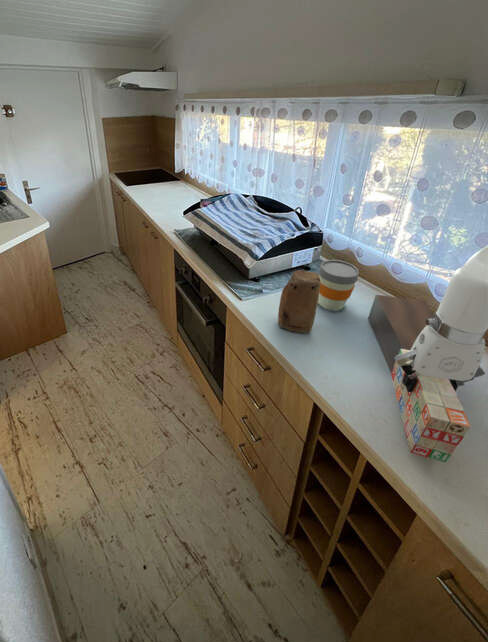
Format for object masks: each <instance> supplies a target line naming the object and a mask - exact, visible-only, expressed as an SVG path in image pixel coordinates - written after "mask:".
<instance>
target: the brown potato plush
mask: <svg viewBox="0 0 488 642" xmlns="http://www.w3.org/2000/svg"><path fill="white" fill-rule="evenodd" d="M319 291H320V276H319V273H318V272H315V271H308V270H301V269H300V270H294V271H293V272H292V274H291V276H290V279H289V280H288V282H287V283H286V285H284V287H283V289H282V291H281V294H280V299H279V305H278V313H277V320H278V321H277V323H278V326H279V327H280V328H283V329H285V330H288V331H291V332H296V333H303V334H304V333H309V332H311V331H312V328H313V326H314V323H315V320H316V319H315V318H316V313H317V308H318V305H319V303H318V299H319Z"/></svg>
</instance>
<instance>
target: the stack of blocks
mask: <svg viewBox="0 0 488 642" xmlns="http://www.w3.org/2000/svg"><path fill="white" fill-rule="evenodd" d="M408 351H410V350H405V349H400V351H399V353H398V355H400V354H403V353H406V352H408ZM411 361H412V360H410V361H408V362H406V363H407V364H408V363H410V362H411ZM414 370H415V369H414V368H413V371H414ZM404 374H405V372H404V371H403V370H402V368H401V367H400V366H399V365H398V363H397V362H395V364H394V367H393V370H392V372H390V376H391V379H392V384H393V388H394V392H395V396H396V401H397V403H398V406H399V411H400V414H401V418H402V422H403V428H404V432H405V437H406V440H407V444H408V445H407V446H408V449H409V452H410V453H411V454H412V455H416V456H420V457H424V458H429V459H431V460H435V461H438V462H441V463H447V462H448V461H449V460H450V457H451V456H452V454H453V452H454V451H455V450H456V448H457V447H458V446H459V445H460V443H461V442H462V441H463V439H464V438H465V436H466V434H467V433H468V432H469V430H470V429H471V424H470V421H469V419H468V417H467V415H466V412H465V409H464V407H463V405H462V403H461V401H460V399H459V396H458V394H457V393H456V391H455V390H454V388H453V386H452V385H451V382H450V380H449V379H445V378H438V377H432V376H426V375H422V374H420V375H419V376H417V377H416V379H417V383H416V385H415V387H414V389H413V391H412V392H408V391H407V389H406V387H405V385H403V382H402V379H403V377H404Z"/></svg>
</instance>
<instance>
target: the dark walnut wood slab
mask: <svg viewBox="0 0 488 642" xmlns="http://www.w3.org/2000/svg"><path fill="white" fill-rule="evenodd" d="M434 315H435V313H434V312H433V311H432V309H431V308H430V306H429V305H428V304H427V302H426V300H424V299H416V298H407V297H400V296H390V295H384V294H383V295H382V294H375V295H374V298H373V302H372V305H371V308H370V310H369V314H368V317H367V320H368V323H369V324H370V327H371V330H372V332H373V334H374V336H375V338H376V342H377V343H378V345H379V349H380V351H381V353H382V356H383V358H384V360H385V362H386V365H387V367H388V369H389V372H390V373H391V372H392V370H393V367H394V364H395V362H396V360H395V356H397V355H398V353H399V351H400V349H405V350H411V348H412V346H413V344H414V342H415V341H416V339H417V337H418V336H419V334H420V333H421V332H422V330H423V329H424V328H425V327H426V326H427V325H426V323H425V321H426V319H431V318H433V317H434Z"/></svg>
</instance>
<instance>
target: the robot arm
mask: <svg viewBox="0 0 488 642" xmlns="http://www.w3.org/2000/svg"><path fill="white" fill-rule="evenodd" d="M445 289H446V290H445V292H444V294H443V296H442V299H441V301H440V303H439V306H438V308H437V309H436V312H435V313H434V317H433V318H431V319H426V321H425V323H426V325H427V326H426V327H425V328H424V329H423V330H422V332H421V333H420V334H419V336H418V337H417V339H416V341H415V342H414V344H413V346H412V348H411V350H410V351H408V352H406V353H403V354H400V355H397V356H395V360H396V362H397V363H398V365H399V366H400V367H401V368H402V370H403V371H404V372H405V374H404V377H403V379H402V382H403V385H405V387H406V389H407V391H408V392H412V391H413V389H414V387H415V385H416V383H417V379H416V377H417V376H419V375H420V374H422V375H426V376H432V377H438V378H445V379H449V380H450V382H451V385H452V386H453V388H454V390H455V392H456V391H457V390H458V388H459V387H463V386H464V385H465V383H468V382H471V381H473V380H475V378H476V379H477V378H478V377H482V376H485V374H486V372H485V370H484V369H483V367H482V366H481V365H480V364H481V362H482V360H483V357H484V352H485V346H486V340H485V339H484V336H485V335H486V332H487V331H488V245H486V246H484V247H482V248H481V249H480V250H478V251H477V252H475V253H474V254H472V256H471V257H469V258H468V260H466V262H465V263H464V265H463V266H461V267H459V268H457V269H456V270H455V271H454V272H453V274H452V276H451V278H450V280H449V282H448V285H447V287H446V288H445ZM410 360H412V361H411V362H410V363H408V364H407V363H406V362H408V361H410ZM413 368H414V369H415V370H414V371H413Z"/></svg>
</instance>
